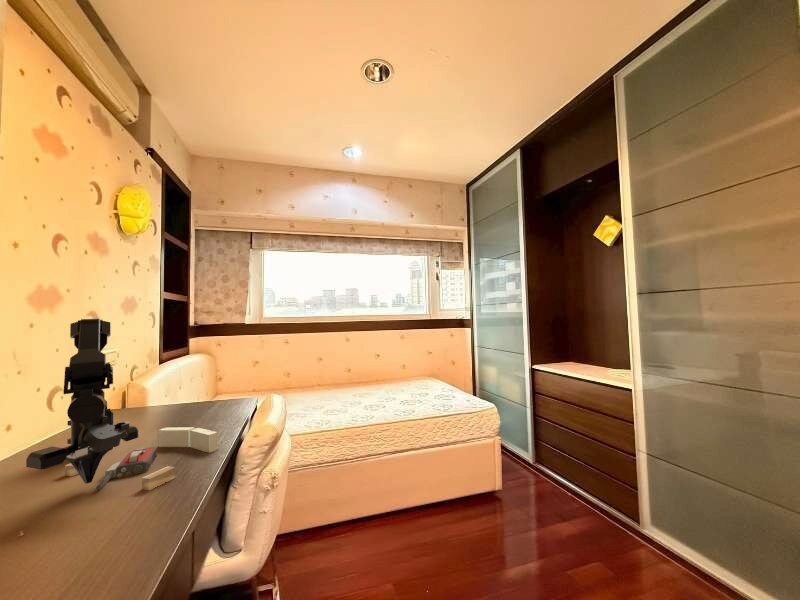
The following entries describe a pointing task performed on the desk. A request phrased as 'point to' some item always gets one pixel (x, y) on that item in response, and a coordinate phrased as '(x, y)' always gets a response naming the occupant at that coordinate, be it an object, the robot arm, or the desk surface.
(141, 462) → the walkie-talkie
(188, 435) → the white long angled block
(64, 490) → the desk surface
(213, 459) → the desk surface
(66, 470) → the guide blocks
